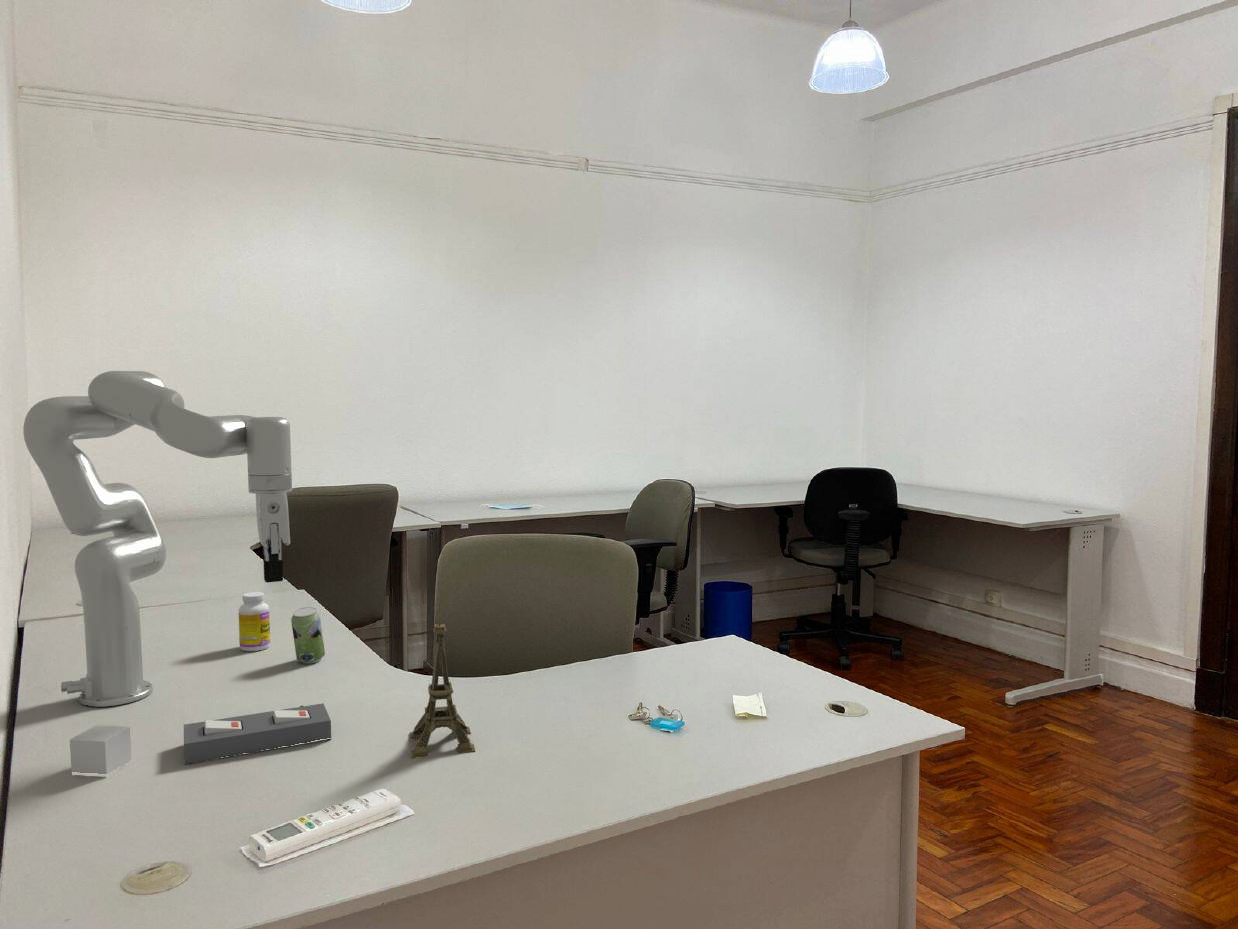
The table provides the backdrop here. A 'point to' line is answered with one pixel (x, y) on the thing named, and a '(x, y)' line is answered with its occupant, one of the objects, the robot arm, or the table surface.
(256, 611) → the supplement bottle
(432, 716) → the eiffel tower
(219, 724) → the left rocker
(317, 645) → the beverage can
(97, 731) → the pale grey cube
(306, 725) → the rocker switch panel
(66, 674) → the table surface
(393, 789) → the table surface
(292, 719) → the right rocker
